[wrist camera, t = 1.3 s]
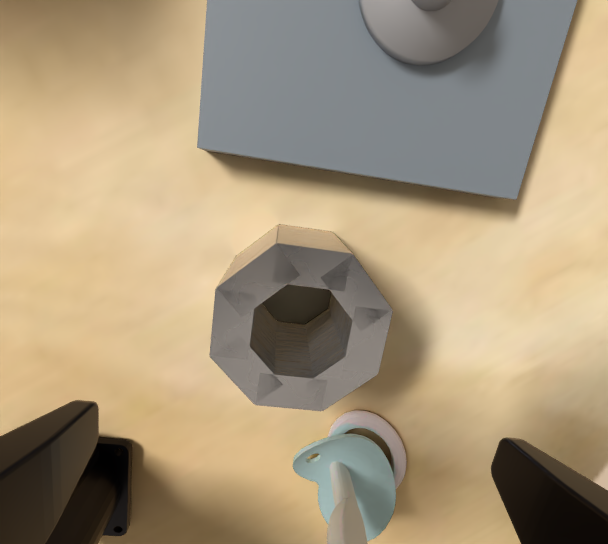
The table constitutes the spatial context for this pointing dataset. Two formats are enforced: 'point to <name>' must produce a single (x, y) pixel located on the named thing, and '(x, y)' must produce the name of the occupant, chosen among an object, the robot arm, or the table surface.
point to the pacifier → (354, 477)
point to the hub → (298, 337)
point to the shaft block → (383, 86)
